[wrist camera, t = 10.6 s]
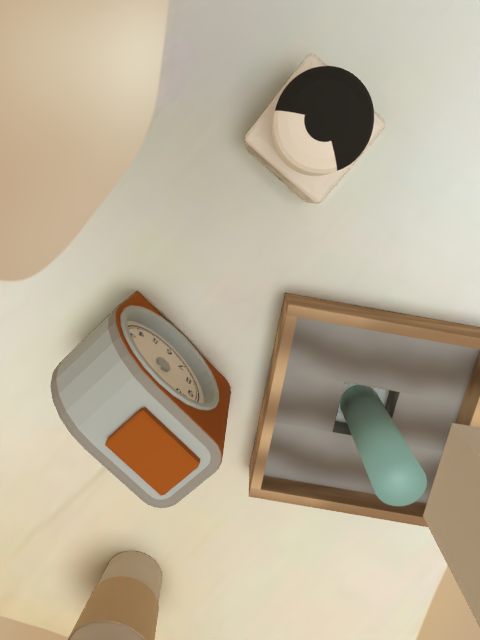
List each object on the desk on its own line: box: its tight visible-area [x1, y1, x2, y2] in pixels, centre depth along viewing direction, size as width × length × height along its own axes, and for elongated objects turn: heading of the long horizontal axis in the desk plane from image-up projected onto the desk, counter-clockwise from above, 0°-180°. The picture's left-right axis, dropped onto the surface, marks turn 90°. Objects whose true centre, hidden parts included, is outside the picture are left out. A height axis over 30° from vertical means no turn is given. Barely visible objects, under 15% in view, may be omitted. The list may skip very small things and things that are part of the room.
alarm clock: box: [51, 291, 231, 508], centre depth 41 cm, size 15×8×14 cm, turn 43°
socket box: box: [249, 293, 480, 527], centre depth 46 cm, size 20×20×5 cm
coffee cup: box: [68, 551, 162, 640], centre depth 48 cm, size 9×9×15 cm
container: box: [245, 54, 385, 203], centre depth 35 cm, size 8×8×13 cm
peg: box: [340, 385, 427, 506], centre depth 41 cm, size 4×4×14 cm
